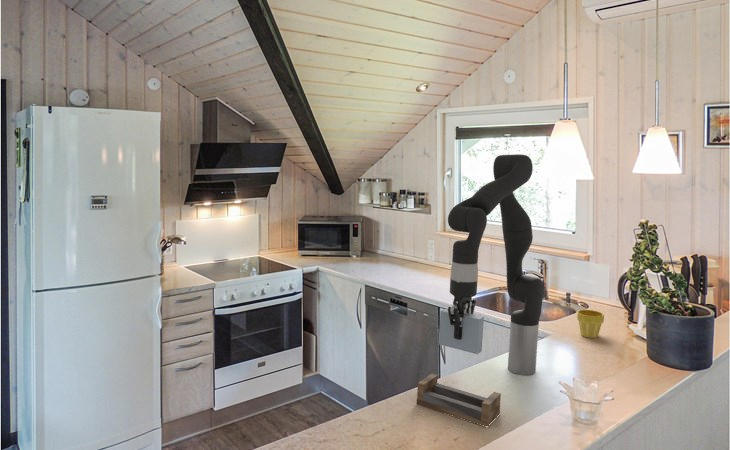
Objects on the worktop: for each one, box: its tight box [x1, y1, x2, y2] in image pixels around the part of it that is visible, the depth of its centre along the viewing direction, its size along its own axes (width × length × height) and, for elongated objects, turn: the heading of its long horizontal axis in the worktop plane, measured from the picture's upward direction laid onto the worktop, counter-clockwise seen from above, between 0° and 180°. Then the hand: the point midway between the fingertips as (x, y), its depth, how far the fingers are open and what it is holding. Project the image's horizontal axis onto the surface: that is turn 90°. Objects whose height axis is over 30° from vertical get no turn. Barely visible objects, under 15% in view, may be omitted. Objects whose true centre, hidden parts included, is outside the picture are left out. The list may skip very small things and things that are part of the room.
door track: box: [416, 373, 502, 427], centre depth 150 cm, size 9×22×6 cm, turn 54°
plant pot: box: [576, 309, 605, 339], centre depth 217 cm, size 10×10×10 cm
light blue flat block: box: [438, 308, 485, 355], centre depth 148 cm, size 3×12×10 cm, turn 54°
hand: (460, 337), depth 148 cm, fingers closed on light blue flat block, 3 cm apart
